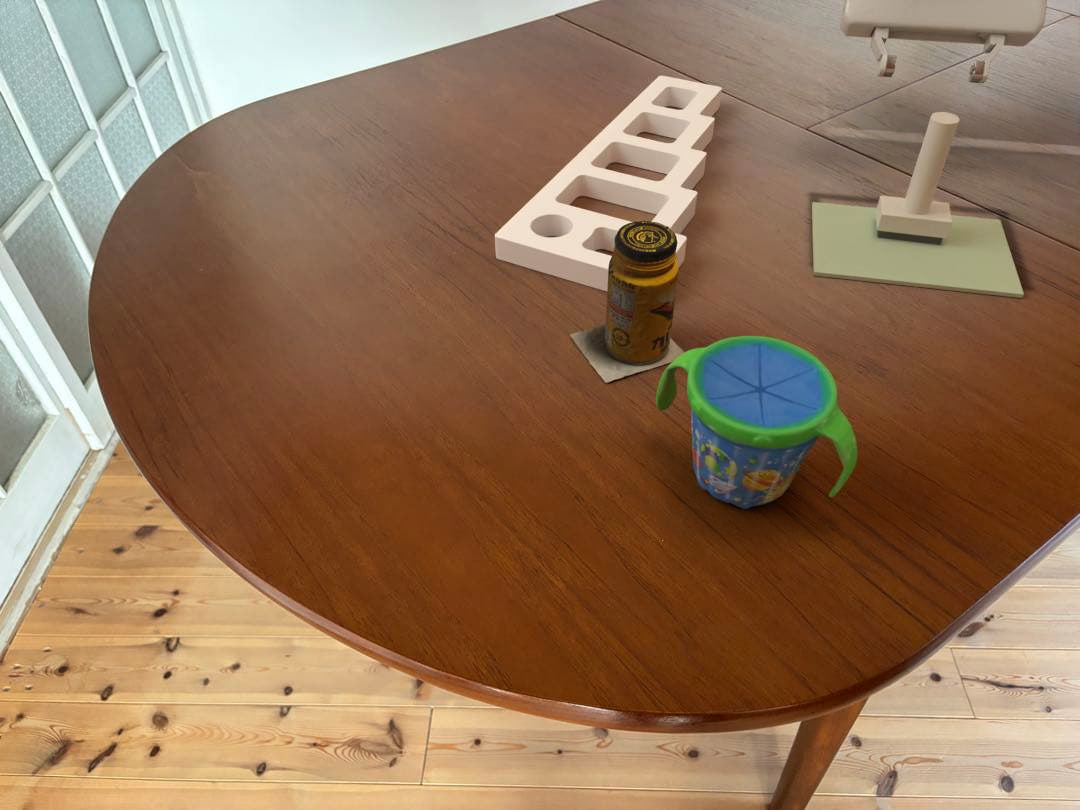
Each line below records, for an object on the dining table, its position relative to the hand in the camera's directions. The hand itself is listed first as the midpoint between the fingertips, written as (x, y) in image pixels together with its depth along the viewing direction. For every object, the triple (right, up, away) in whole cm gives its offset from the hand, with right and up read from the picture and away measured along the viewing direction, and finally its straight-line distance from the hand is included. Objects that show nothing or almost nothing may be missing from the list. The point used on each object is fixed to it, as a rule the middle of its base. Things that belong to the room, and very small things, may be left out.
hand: (931, 78), depth 92 cm
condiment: (-34, -30, -12) cm, 47 cm away
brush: (-3, -17, 0) cm, 17 cm away
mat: (-3, -19, -1) cm, 19 cm away
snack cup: (-26, -41, -24) cm, 54 cm away
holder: (-28, -9, +10) cm, 31 cm away
